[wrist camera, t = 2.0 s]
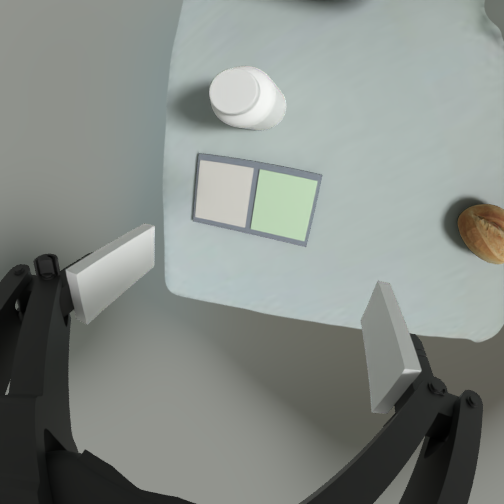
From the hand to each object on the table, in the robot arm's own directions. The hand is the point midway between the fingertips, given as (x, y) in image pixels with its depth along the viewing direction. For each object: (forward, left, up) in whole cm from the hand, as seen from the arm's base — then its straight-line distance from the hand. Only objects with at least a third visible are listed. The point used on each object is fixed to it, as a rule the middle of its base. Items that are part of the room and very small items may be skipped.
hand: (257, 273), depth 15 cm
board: (+4, -7, -30) cm, 31 cm away
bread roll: (-2, +35, -30) cm, 46 cm away
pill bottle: (-11, -8, -30) cm, 33 cm away
